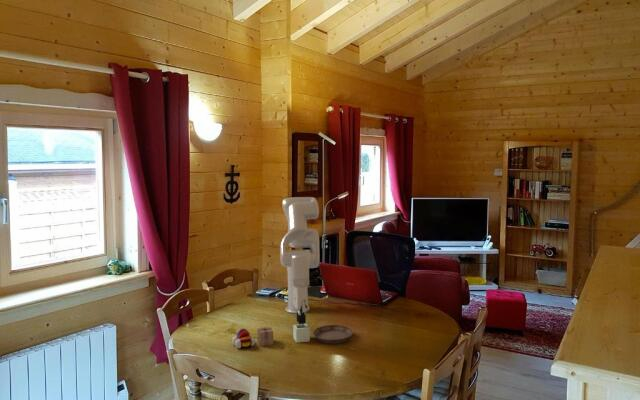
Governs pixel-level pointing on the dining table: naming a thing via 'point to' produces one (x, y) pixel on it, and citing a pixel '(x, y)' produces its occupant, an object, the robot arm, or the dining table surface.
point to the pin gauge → (300, 324)
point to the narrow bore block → (265, 336)
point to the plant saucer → (333, 333)
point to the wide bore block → (301, 333)
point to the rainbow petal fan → (243, 339)
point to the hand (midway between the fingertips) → (301, 322)
